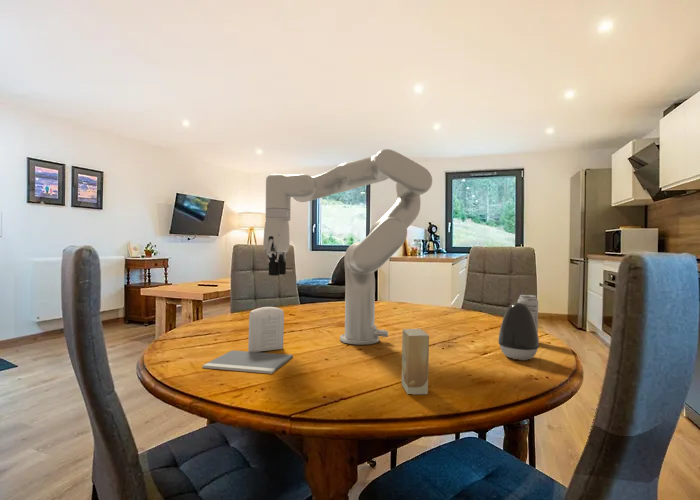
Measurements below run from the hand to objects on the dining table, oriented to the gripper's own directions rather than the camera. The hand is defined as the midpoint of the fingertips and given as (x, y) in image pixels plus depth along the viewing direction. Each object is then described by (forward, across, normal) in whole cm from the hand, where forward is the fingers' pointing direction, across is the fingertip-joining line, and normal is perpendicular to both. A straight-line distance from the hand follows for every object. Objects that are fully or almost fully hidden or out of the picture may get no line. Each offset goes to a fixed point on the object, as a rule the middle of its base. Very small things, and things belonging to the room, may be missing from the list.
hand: (277, 274), depth 116 cm
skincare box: (+22, +28, +43) cm, 56 cm away
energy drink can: (+22, -22, +77) cm, 83 cm away
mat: (+21, +20, +1) cm, 29 cm away
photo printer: (+22, +8, 0) cm, 23 cm away
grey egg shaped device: (+22, -2, +70) cm, 73 cm away
